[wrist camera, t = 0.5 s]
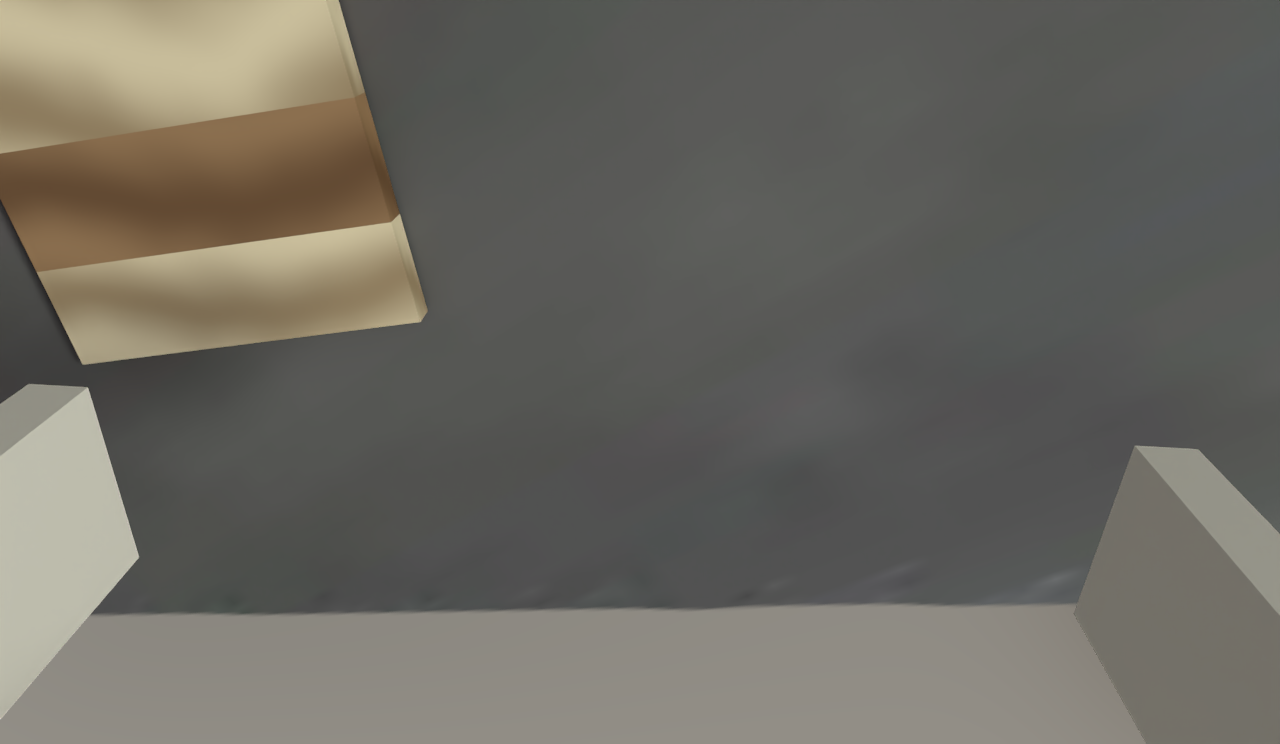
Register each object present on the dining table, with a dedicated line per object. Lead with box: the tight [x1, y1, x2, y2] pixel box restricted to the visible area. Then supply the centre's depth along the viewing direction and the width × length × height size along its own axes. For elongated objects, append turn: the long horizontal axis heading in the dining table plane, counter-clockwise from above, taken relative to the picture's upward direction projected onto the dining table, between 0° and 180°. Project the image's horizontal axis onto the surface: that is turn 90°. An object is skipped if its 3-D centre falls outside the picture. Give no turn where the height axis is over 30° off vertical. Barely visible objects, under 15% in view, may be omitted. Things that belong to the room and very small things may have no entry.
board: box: [0, 0, 428, 365], centre depth 33 cm, size 24×16×1 cm, turn 9°
